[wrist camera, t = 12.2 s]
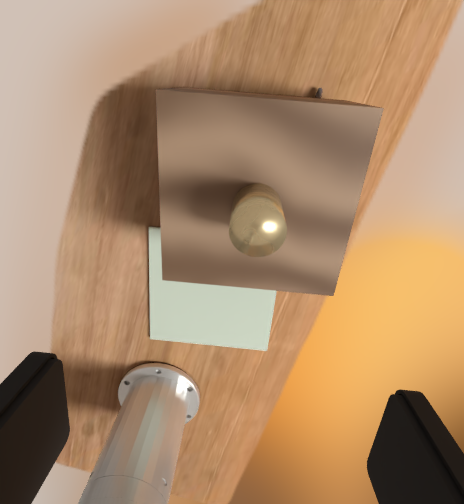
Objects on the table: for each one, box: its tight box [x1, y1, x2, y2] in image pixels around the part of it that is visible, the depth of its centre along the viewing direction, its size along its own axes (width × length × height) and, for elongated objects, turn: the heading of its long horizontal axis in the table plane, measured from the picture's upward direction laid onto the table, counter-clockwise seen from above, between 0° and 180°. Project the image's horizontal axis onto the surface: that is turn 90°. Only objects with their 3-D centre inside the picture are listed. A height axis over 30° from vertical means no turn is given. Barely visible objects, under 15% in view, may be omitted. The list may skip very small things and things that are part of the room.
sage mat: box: [149, 227, 276, 351], centre depth 43 cm, size 17×17×1 cm
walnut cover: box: [156, 87, 384, 296], centre depth 29 cm, size 16×16×16 cm
